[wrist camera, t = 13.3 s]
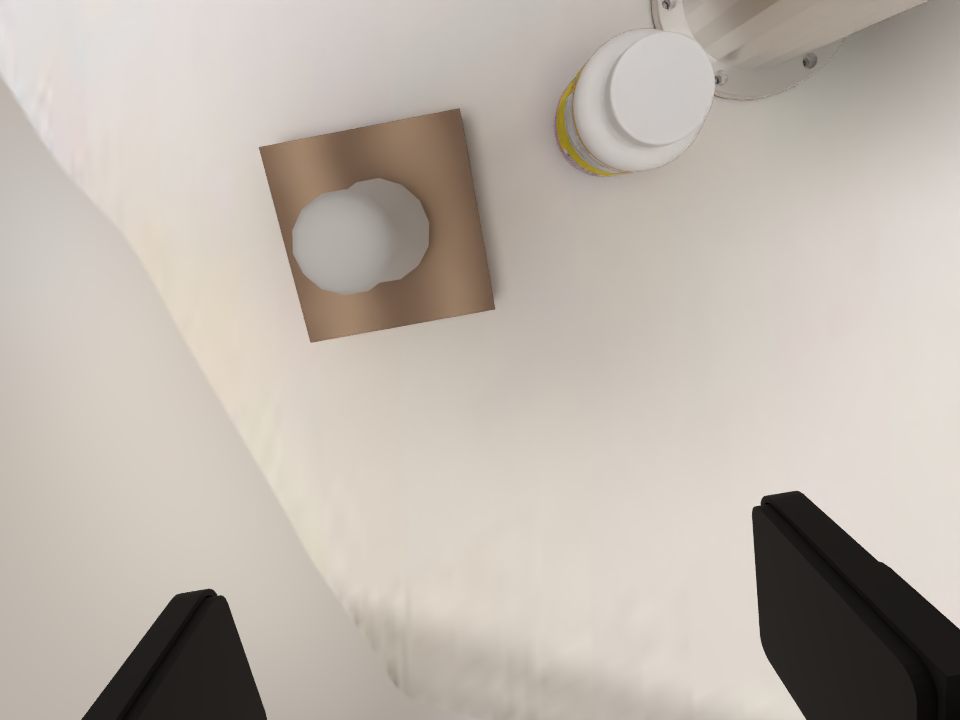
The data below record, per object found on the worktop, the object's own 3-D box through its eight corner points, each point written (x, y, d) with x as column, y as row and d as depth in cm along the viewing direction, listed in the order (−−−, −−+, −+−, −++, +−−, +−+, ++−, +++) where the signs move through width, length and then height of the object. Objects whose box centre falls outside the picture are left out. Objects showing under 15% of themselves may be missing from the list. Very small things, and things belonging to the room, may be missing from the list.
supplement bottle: (648, 57, 38) (734, -11, 25) (659, 165, 39) (746, 151, 27) (543, 79, 38) (578, 22, 25) (560, 186, 40) (600, 181, 27)
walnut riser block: (460, 117, 38) (459, 108, 34) (493, 298, 41) (495, 309, 38) (280, 152, 39) (258, 147, 35) (325, 329, 42) (310, 342, 38)
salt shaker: (376, 295, 37) (327, 344, 25) (317, 219, 36) (234, 230, 23) (451, 239, 36) (440, 261, 24) (394, 159, 35) (350, 138, 23)
